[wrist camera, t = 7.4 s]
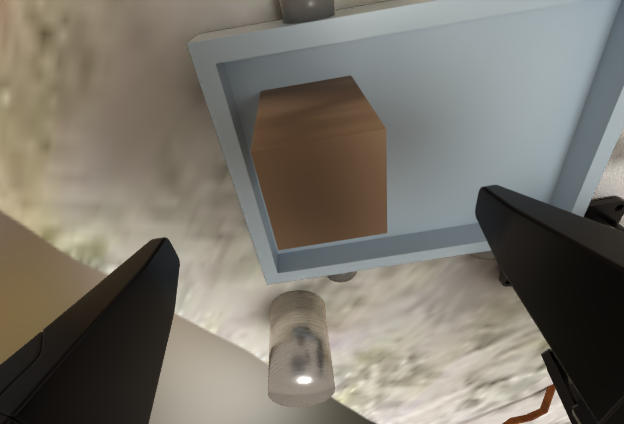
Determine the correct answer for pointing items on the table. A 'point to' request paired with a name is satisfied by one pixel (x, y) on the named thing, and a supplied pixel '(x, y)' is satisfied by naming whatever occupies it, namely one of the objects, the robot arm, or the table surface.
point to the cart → (430, 112)
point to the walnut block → (320, 163)
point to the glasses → (514, 422)
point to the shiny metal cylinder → (299, 351)
